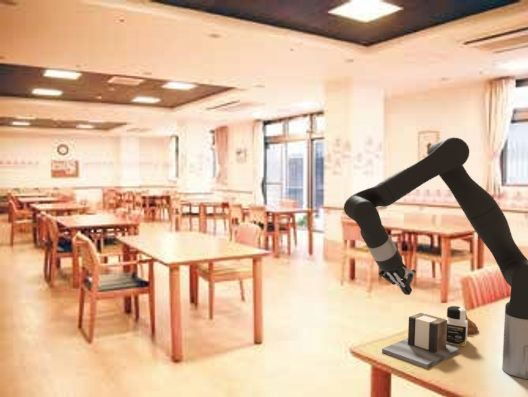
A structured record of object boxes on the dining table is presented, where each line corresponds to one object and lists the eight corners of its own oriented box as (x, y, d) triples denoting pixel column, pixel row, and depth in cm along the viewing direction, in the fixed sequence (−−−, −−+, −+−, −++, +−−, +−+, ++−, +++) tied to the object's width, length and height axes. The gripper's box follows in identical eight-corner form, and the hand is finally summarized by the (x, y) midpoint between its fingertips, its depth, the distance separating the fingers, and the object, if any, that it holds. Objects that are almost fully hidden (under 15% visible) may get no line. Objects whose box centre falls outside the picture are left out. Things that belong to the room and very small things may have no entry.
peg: (428, 349, 152) (429, 322, 152) (414, 345, 156) (415, 318, 155) (436, 346, 156) (437, 319, 155) (422, 341, 159) (423, 315, 159)
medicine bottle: (442, 342, 163) (444, 308, 162) (445, 336, 169) (446, 303, 168) (465, 346, 159) (466, 311, 159) (467, 340, 166) (468, 306, 165)
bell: (449, 322, 186) (449, 303, 185) (481, 329, 178) (482, 310, 178) (438, 329, 177) (439, 310, 176) (472, 337, 169) (473, 317, 169)
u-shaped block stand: (426, 368, 142) (428, 334, 141) (382, 352, 154) (383, 320, 153) (459, 352, 155) (460, 320, 154) (415, 338, 167) (416, 309, 166)
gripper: (408, 243, 139) (432, 286, 144) (373, 243, 149) (396, 282, 155) (397, 261, 135) (421, 304, 141) (361, 259, 145) (385, 299, 151)
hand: (408, 292), depth 148 cm, fingers closed
